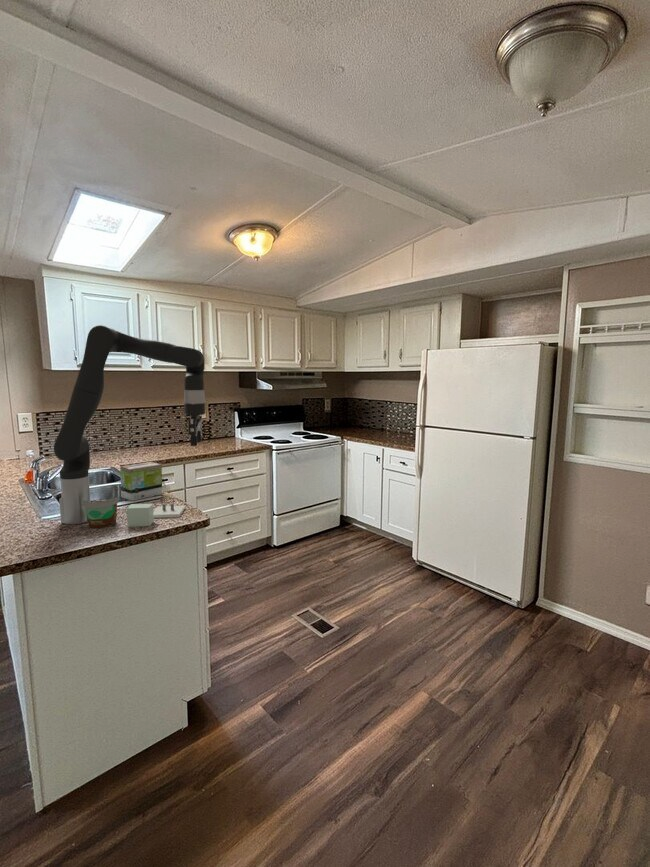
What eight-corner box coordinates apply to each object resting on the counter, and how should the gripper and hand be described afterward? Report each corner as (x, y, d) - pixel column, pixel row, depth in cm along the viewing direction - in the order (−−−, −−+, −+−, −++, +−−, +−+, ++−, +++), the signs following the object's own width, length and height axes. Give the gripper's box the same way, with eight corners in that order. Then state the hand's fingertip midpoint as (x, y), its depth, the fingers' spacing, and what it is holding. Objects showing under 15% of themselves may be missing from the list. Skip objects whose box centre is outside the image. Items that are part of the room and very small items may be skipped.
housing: (127, 526, 151) (126, 508, 150) (132, 521, 156) (131, 504, 155) (150, 525, 152) (149, 507, 151) (153, 521, 157) (153, 503, 156)
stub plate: (150, 517, 161) (149, 508, 160) (158, 509, 172) (157, 500, 171) (179, 517, 162) (178, 508, 162) (185, 508, 173) (185, 499, 172)
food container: (79, 530, 147) (77, 503, 146) (84, 524, 153) (82, 498, 152) (116, 527, 150) (115, 501, 149) (120, 521, 156) (118, 496, 155)
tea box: (132, 501, 181) (130, 469, 179) (121, 497, 187) (119, 466, 185) (163, 494, 193) (162, 463, 191) (151, 490, 199) (150, 460, 197)
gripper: (188, 401, 163) (189, 441, 165) (180, 403, 149) (182, 447, 151) (207, 401, 164) (209, 441, 166) (201, 403, 150) (202, 447, 152)
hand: (196, 443), depth 159 cm, fingers open, 8 cm apart
